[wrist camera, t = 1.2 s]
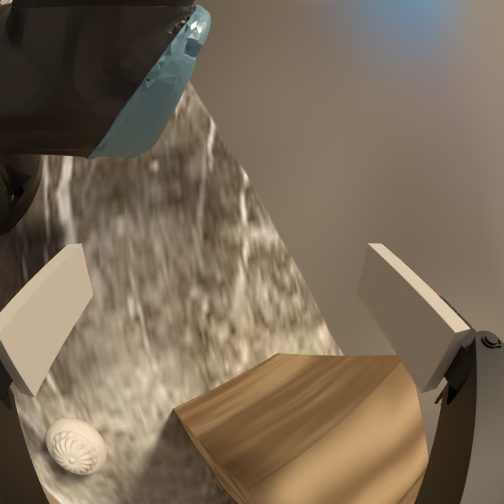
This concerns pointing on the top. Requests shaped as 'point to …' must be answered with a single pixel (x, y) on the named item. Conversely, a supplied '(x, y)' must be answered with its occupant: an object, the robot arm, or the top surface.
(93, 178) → the top surface
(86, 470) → the white ridged rounded piece
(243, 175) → the top surface
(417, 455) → the pine stand
